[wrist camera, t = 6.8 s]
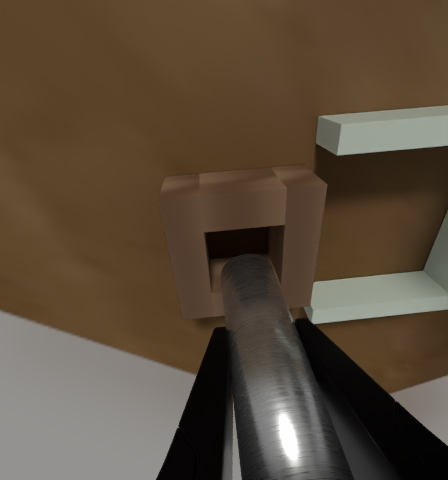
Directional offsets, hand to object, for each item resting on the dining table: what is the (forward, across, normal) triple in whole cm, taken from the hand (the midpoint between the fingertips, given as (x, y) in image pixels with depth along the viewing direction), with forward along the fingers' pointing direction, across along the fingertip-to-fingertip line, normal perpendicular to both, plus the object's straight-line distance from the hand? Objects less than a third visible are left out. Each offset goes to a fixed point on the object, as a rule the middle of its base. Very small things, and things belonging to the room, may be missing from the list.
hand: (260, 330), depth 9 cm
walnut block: (+7, 0, 0) cm, 7 cm away
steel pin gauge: (+3, 0, 0) cm, 3 cm away
